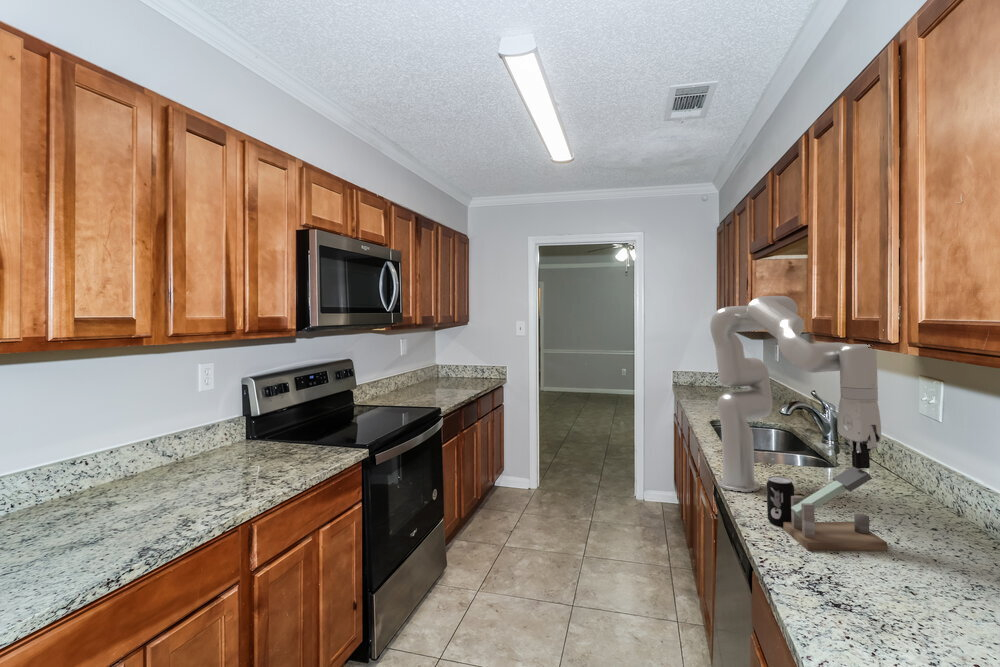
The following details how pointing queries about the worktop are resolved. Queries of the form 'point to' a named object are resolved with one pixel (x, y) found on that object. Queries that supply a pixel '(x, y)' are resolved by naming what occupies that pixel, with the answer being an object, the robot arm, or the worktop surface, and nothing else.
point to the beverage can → (779, 499)
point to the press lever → (835, 488)
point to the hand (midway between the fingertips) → (860, 467)
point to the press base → (831, 532)
